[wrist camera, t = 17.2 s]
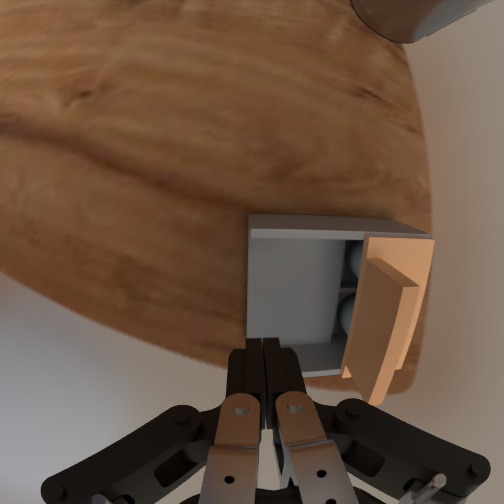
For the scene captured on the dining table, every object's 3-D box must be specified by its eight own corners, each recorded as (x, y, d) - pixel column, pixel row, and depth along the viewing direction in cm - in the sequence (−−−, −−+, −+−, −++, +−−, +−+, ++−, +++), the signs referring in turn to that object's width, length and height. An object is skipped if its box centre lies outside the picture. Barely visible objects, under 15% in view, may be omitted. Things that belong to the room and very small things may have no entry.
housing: (392, 219, 25) (431, 234, 19) (372, 330, 28) (398, 365, 22) (248, 213, 24) (251, 228, 18) (246, 336, 28) (248, 379, 21)
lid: (429, 237, 19) (478, 259, 13) (397, 363, 22) (425, 403, 16) (364, 234, 18) (408, 260, 13) (339, 372, 22) (361, 420, 16)
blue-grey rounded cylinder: (379, 229, 24) (408, 242, 19) (384, 268, 25) (411, 287, 20) (341, 240, 24) (364, 257, 19) (348, 280, 25) (370, 303, 21)
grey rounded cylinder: (371, 287, 26) (395, 310, 21) (373, 320, 27) (394, 346, 22) (334, 298, 26) (352, 324, 21) (338, 331, 27) (354, 360, 22)
